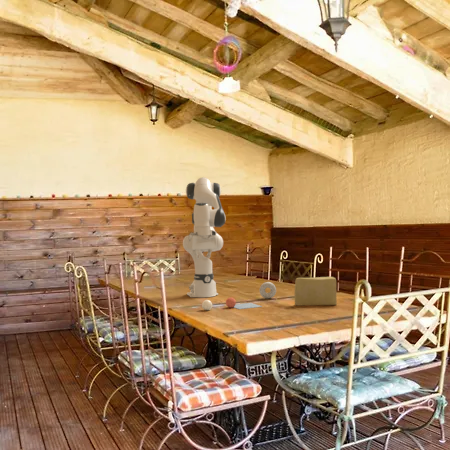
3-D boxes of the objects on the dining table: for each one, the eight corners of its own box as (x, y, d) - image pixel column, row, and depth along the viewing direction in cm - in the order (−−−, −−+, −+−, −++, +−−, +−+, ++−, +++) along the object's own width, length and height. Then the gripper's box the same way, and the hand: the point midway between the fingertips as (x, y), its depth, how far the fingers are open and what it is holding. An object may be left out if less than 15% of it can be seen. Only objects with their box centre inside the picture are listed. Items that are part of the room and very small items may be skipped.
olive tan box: (296, 306, 275) (295, 279, 275) (293, 304, 285) (292, 277, 285) (337, 305, 276) (336, 277, 275) (332, 302, 285) (332, 275, 285)
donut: (259, 299, 304) (259, 282, 304) (259, 298, 307) (259, 281, 307) (276, 298, 304) (276, 282, 304) (276, 297, 307) (275, 281, 307)
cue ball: (200, 309, 273) (200, 299, 273) (209, 308, 276) (209, 298, 276) (204, 311, 268) (204, 301, 268) (214, 310, 271) (213, 300, 271)
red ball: (224, 307, 279) (224, 297, 279) (233, 306, 281) (233, 296, 281) (228, 308, 274) (228, 298, 274) (237, 307, 276) (237, 297, 276)
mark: (228, 305, 285) (228, 305, 285) (250, 303, 291) (250, 302, 291) (239, 309, 272) (239, 308, 272) (262, 306, 278) (262, 306, 278)
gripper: (193, 232, 267) (193, 259, 266) (218, 232, 282) (219, 257, 282) (184, 232, 271) (184, 258, 270) (209, 232, 286) (210, 257, 286)
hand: (202, 258), depth 276 cm, fingers open, 8 cm apart
